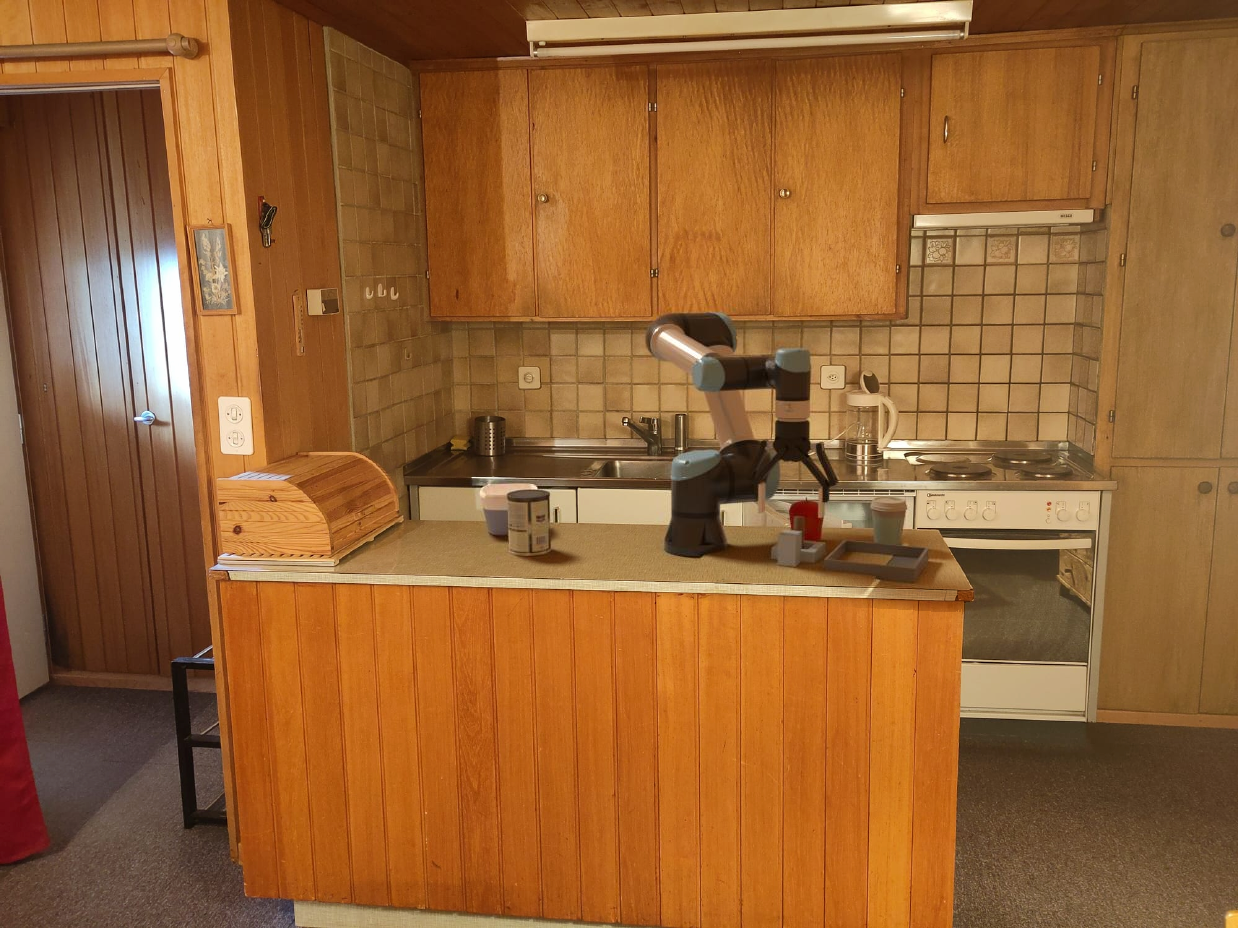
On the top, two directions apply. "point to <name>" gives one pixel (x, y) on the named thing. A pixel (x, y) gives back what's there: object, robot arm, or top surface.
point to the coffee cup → (888, 519)
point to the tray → (899, 567)
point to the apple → (807, 519)
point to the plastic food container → (499, 505)
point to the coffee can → (529, 522)
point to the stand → (800, 527)
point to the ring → (796, 549)
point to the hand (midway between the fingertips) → (791, 514)
